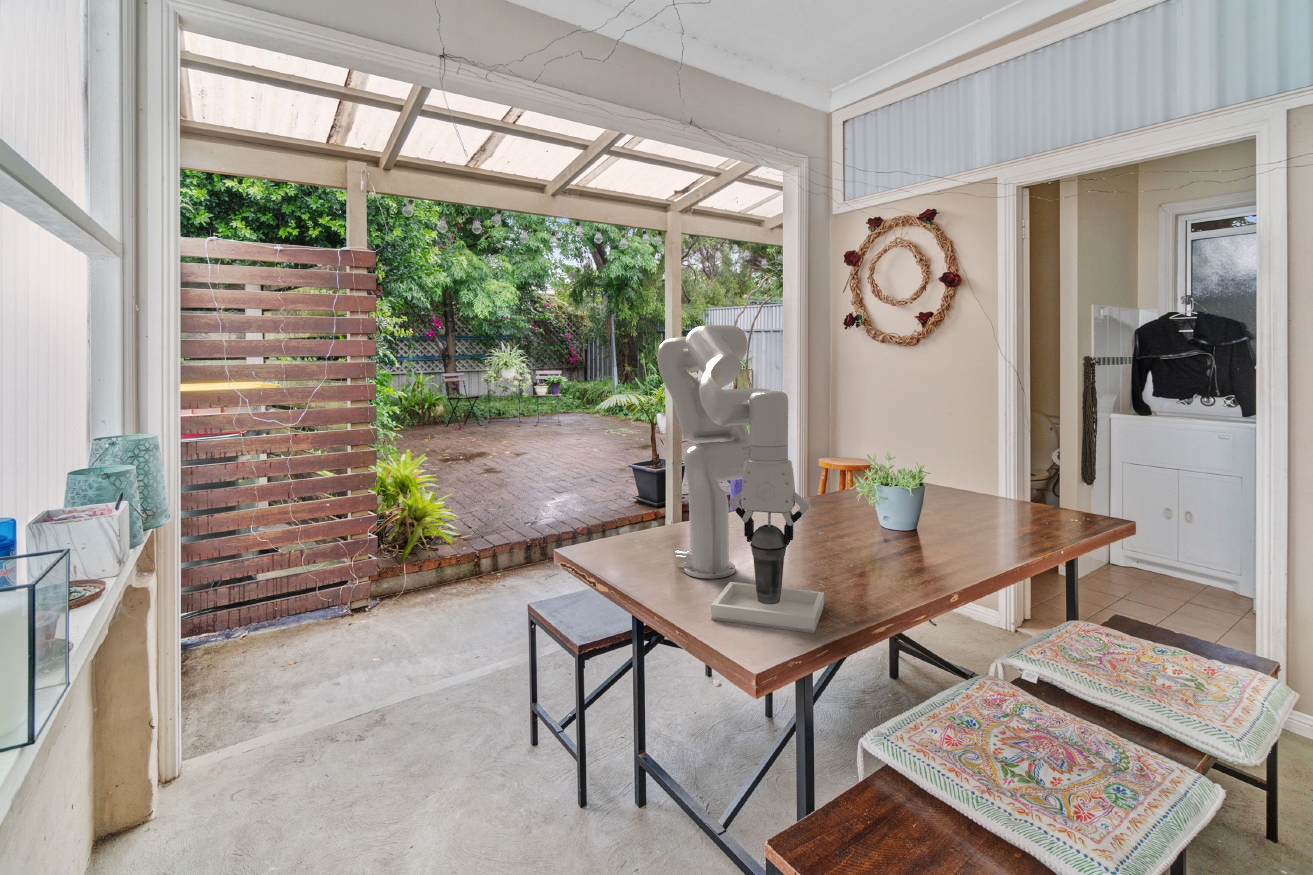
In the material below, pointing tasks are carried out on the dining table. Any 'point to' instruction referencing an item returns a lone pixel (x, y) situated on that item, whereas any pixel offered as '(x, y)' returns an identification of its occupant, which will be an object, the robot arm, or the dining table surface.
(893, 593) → the dining table surface
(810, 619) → the tray
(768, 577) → the beverage cup
